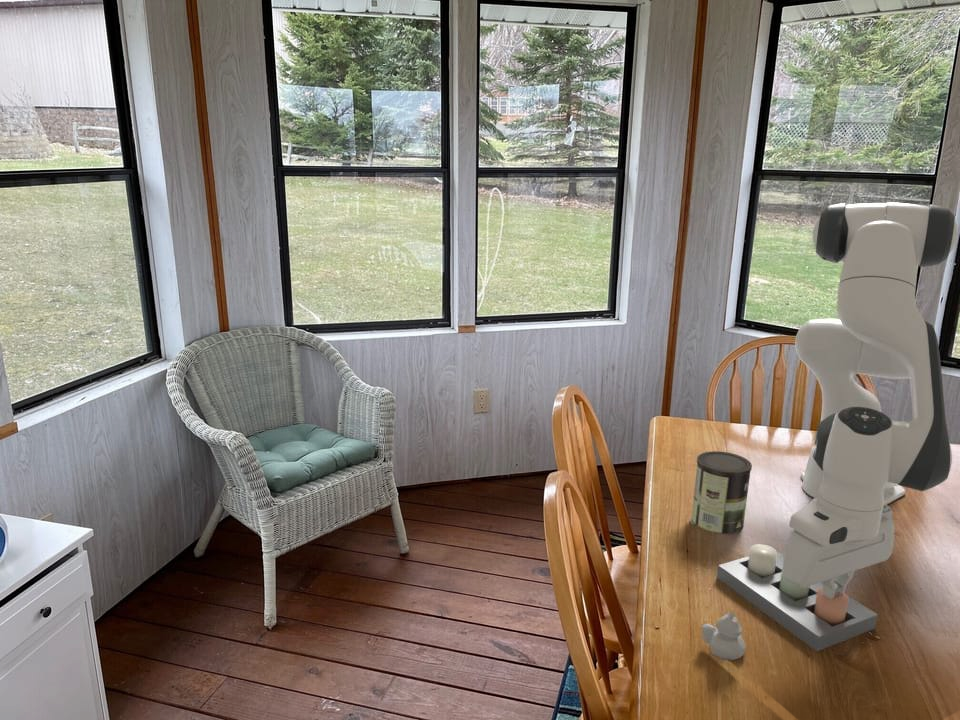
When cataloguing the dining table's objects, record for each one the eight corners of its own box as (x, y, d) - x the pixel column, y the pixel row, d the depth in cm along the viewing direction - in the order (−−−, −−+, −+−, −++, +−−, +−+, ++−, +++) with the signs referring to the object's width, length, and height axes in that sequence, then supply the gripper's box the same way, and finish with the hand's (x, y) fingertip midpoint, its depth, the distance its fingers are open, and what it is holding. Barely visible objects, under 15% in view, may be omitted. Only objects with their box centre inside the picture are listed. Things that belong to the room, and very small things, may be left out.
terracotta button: (826, 610, 117) (830, 583, 115) (849, 626, 113) (855, 599, 111) (806, 617, 115) (811, 590, 113) (830, 634, 111) (835, 606, 110)
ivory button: (759, 566, 129) (763, 542, 127) (779, 579, 125) (783, 554, 124) (741, 572, 127) (744, 547, 125) (760, 585, 123) (764, 560, 122)
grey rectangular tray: (770, 565, 132) (773, 548, 131) (874, 633, 114) (877, 614, 113) (716, 582, 127) (718, 565, 126) (815, 656, 109) (819, 637, 108)
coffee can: (739, 515, 150) (747, 453, 146) (746, 541, 140) (756, 474, 136) (688, 510, 152) (695, 448, 148) (692, 535, 142) (699, 469, 138)
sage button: (791, 587, 123) (795, 562, 121) (812, 602, 119) (817, 575, 117) (772, 594, 121) (776, 568, 119) (793, 608, 117) (797, 582, 116)
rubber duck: (737, 673, 105) (743, 626, 103) (693, 653, 109) (698, 608, 107) (749, 653, 109) (755, 607, 107) (706, 635, 113) (712, 591, 111)
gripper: (875, 493, 115) (860, 569, 119) (782, 518, 107) (769, 599, 111) (912, 510, 110) (896, 589, 114) (817, 539, 101) (803, 623, 105)
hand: (833, 594), depth 112 cm, fingers closed, pressing on terracotta button
